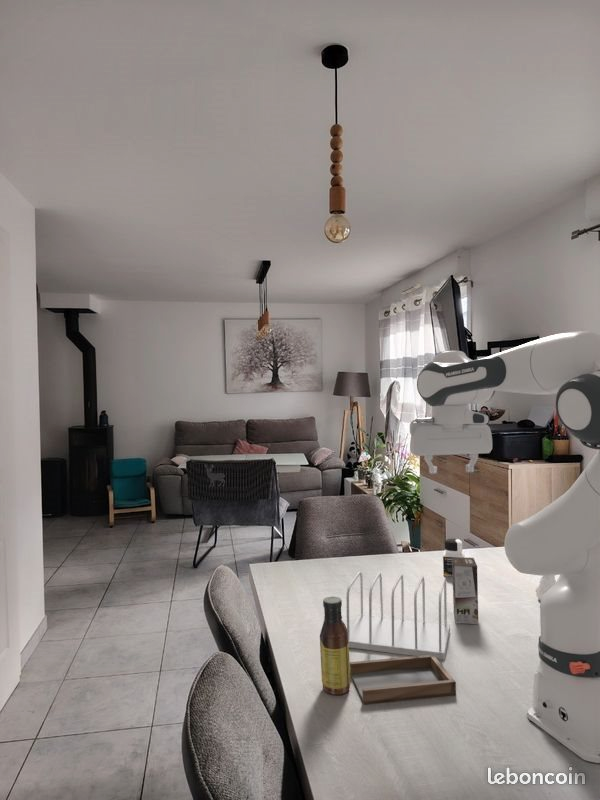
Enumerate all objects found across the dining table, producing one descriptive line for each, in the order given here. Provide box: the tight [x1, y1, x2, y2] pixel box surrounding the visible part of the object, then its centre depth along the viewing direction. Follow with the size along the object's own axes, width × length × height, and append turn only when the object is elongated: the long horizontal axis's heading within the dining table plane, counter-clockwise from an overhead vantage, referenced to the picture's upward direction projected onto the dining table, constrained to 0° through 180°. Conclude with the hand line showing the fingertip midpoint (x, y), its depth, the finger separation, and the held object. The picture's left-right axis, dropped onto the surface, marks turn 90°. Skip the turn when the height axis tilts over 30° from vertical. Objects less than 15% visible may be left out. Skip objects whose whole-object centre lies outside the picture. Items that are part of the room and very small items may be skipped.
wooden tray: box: [350, 655, 457, 705], centre depth 125 cm, size 13×20×3 cm, turn 98°
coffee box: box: [451, 557, 479, 625], centre depth 161 cm, size 9×6×16 cm
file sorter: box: [346, 571, 451, 660], centre depth 148 cm, size 25×17×16 cm
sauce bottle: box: [319, 595, 351, 696], centre depth 123 cm, size 7×6×20 cm
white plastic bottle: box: [442, 538, 465, 577], centre depth 201 cm, size 7×7×12 cm
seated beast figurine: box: [535, 575, 557, 602], centre depth 172 cm, size 10×9×12 cm
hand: (451, 472), depth 140 cm, fingers open, 8 cm apart
